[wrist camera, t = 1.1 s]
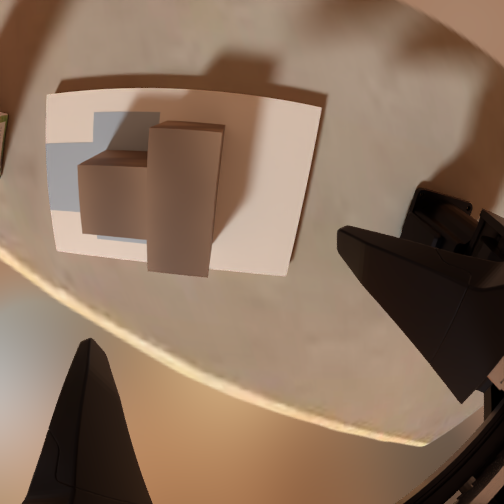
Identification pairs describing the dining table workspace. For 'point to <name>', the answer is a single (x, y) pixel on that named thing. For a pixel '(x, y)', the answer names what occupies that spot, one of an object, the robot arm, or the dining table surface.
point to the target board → (230, 178)
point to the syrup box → (2, 134)
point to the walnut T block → (158, 195)
